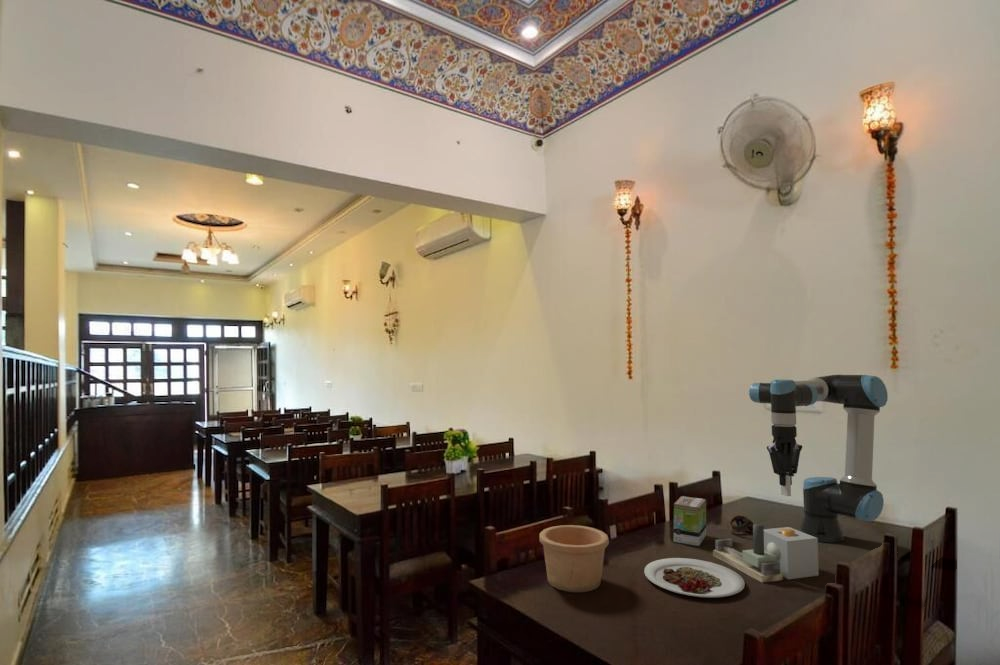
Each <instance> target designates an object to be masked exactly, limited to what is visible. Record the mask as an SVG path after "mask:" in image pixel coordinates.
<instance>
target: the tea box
mask: <svg viewBox="0 0 1000 665" xmlns="http://www.w3.org/2000/svg"><path fill="white" fill-rule="evenodd" d="M706 536H707V499H705V498H700V497H699V498H698V497H694V496H693V497H691V496H685V495H682V496H680V497H679V498H678V499H677V500H676V501H674V503H673V542H674V543H678V544H684V545H691V546H695V547H696V546H697V547H699V546H700V545H701V544H702V543H703V541H704V539H705V537H706Z"/></svg>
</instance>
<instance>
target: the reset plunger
mask: <svg viewBox="0 0 1000 665" xmlns="http://www.w3.org/2000/svg"><path fill="white" fill-rule="evenodd" d="M781 534H782V535H785V536H787V537H791V536H795V531H794V530H790V529H782V530H781Z"/></svg>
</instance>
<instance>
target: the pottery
mask: <svg viewBox="0 0 1000 665" xmlns="http://www.w3.org/2000/svg"><path fill="white" fill-rule="evenodd" d="M538 537H539V539H538V540H539V541H538V542H539V543H540V544H541V545H542V546H543V556H544V561H545V567H546V568H545V570H546V578H547V582H548V584H549V585H550V586H551V587H553V588H555V589H557V590H559V591H563V592H568V593H575V594H576V593H588V592H592V591H594V590H596V589H598V588H599V587H600V585H601V584H602V583H601V582H602V581H601V580H602V575H603V574H602V573H603V565H604V559H605V551H606V548H607V546H608V545H609V544H610V539H609V536H608V534H606V533H605V532H604V531H602V530H600V529H598V528H595V527H590V526H585V525H578V524H577V525H575V524H574V525H573V524H565V525H564V524H563V525H562V524H561V525H556V526H550V527H547V528H544V529H542V531H541V532H540V533H539V536H538Z"/></svg>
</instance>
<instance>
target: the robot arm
mask: <svg viewBox="0 0 1000 665" xmlns="http://www.w3.org/2000/svg"><path fill="white" fill-rule="evenodd" d="M748 395H749V398H750V400H751V401H752V402H753V403H758V404H770V407H771V408H770V409H771V410H770V414H771V415H770V416H771V417H770V418H771V424H772V425H771V435H772V437H773V439H772V443H771V445H767V446H766V449H767V452H768V454H769V457H770V461H771V462H770V463H771V466H772V470H773V473H774V474H776V475H777V476H778V477H779V479H778V480H779V486H780V494H781V495H782V496H784V497H785V496H786V497H791V496H792V487H791V486H792V484H793V477H795V475H796V474H797V473H798V467H799V460H800V455H801V451H802V449H803V445H802V444H798V443H797V440H796V438H797V436H798V435H797V431H798V430H797V426H796V425H797V407H808V406H812V405H814V404H815V403H816V402H824V403H831V404H839V405H843V406H842V408H843V410H844V411H845V412H846V413H847V422H846V423H847V425H846V438H845V440H846V441H845V443H846V444H845V460H844V461H845V462H844V464H845V466H844V467H845V468H844V475H843V476H842V477H841V478H840V479H839V482H838V480H837V478H835V477H833V476H832V477H830V476H829V477H828V476H815V477H814V476H812V477H807V478H805V479H804V480H803V485H802V493H803V495H802V497H803V517H802V520H801V524H800V526H799V531H801V532H803V533H806V534H808V535H811V536H814V537H816V538H818V542H822V543H828V544H829V543H831V544H832V543H833V544H834V543H836V542H837V543H842V542H844V541H845V535H844V532H843V531H842V526H841V523H840V521H839V515H840V516H843V517H847V518H852V519H856V520H857V521H865V522H873V521H876V520H877V519H878V517H880V515H881V513H882V511H883V508H884V504H885V503H884V501H885V500H884V495H883V493H882V492H881V491H879V490H878V489H877V487H878V486H877V484H876V483H875V481H873V463H874V462H873V461H874V440H875V438H874V437H875V436H874V435H875V416H876V415H877V414H879V413H880V411H881V408H882V407H885V406H886V404H887V402H888V399H889V398H888V396H889V395H888V389H887V387H886V384H885V383H884V381H883V380H882V379H881V378H880V377H878V376H875V375H869V374H860V375H859V374H831V375H823V376H816V377H811V378H809V379H808V380H795V381H794V380H793V379H771V381H770V382H754V383H752V384H751V385H750V386H749V389H748ZM843 540H844V541H843ZM841 541H842V542H841Z"/></svg>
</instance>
